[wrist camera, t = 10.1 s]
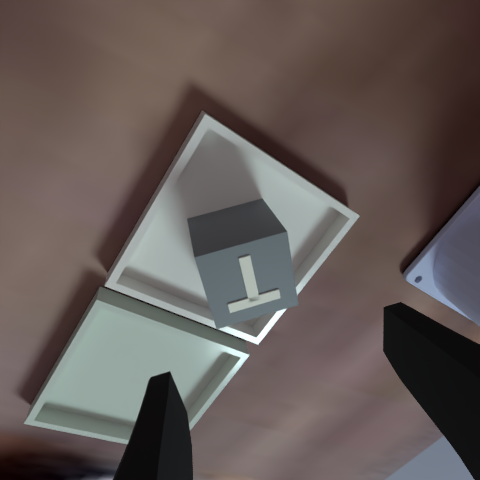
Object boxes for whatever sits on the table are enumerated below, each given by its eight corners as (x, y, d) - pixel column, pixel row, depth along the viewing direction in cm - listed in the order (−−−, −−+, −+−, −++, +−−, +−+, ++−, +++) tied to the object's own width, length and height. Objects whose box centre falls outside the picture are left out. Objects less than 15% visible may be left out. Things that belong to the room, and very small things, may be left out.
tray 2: (245, 341, 23) (249, 355, 22) (171, 436, 26) (172, 453, 24) (99, 286, 19) (96, 299, 18) (30, 406, 22) (23, 423, 21)
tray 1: (348, 207, 20) (359, 215, 19) (253, 331, 23) (258, 344, 22) (202, 110, 16) (205, 113, 15) (107, 273, 19) (104, 286, 18)
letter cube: (262, 198, 18) (287, 232, 15) (274, 262, 20) (298, 305, 17) (186, 218, 18) (194, 258, 14) (206, 281, 20) (216, 330, 16)
